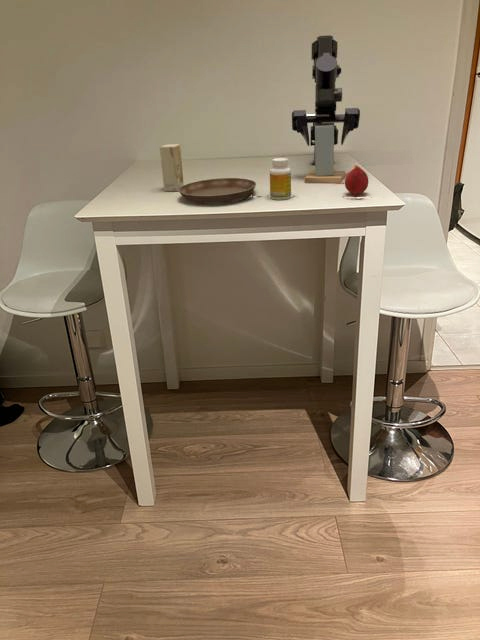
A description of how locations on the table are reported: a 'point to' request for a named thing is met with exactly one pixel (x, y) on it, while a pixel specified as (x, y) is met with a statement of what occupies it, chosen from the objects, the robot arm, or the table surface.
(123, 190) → the table surface
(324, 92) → the robot arm
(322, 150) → the slate block
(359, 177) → the onion
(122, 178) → the table surface
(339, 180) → the oak top slab
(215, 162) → the table surface
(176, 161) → the skincare box
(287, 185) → the supplement bottle
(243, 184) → the plant saucer
